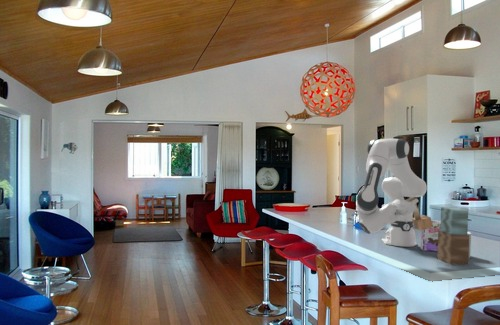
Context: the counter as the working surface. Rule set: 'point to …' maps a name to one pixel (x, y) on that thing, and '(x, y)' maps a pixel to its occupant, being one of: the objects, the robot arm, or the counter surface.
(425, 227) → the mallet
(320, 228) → the counter surface
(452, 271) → the counter surface
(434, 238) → the candy box
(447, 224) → the tower
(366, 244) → the counter surface
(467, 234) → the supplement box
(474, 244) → the counter surface
